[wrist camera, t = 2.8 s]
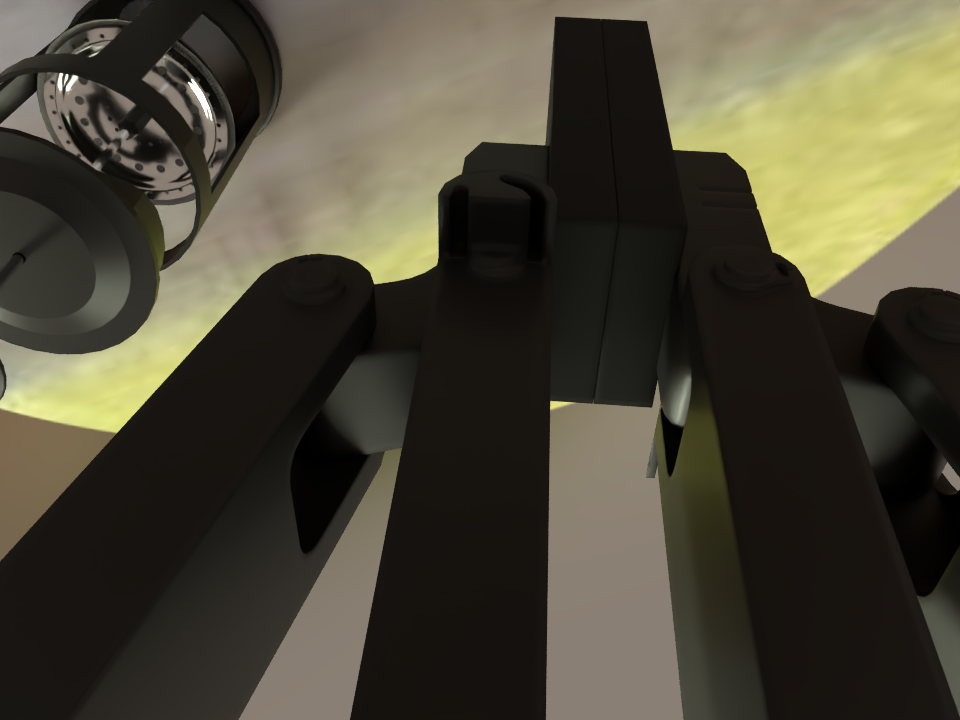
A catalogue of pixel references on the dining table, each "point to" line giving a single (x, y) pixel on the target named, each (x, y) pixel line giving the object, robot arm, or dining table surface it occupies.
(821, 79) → the dining table surface
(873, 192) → the dining table surface
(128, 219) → the french press
